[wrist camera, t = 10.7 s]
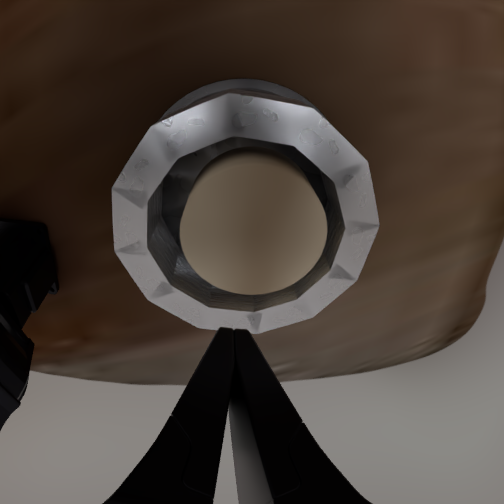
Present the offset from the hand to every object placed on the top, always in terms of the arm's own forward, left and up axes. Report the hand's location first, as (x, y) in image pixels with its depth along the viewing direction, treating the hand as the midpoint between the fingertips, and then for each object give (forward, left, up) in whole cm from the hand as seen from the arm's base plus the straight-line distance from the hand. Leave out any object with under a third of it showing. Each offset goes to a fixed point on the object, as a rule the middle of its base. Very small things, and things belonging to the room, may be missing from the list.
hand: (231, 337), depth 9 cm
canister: (0, +1, -12) cm, 12 cm away
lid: (+1, +1, -8) cm, 8 cm away
